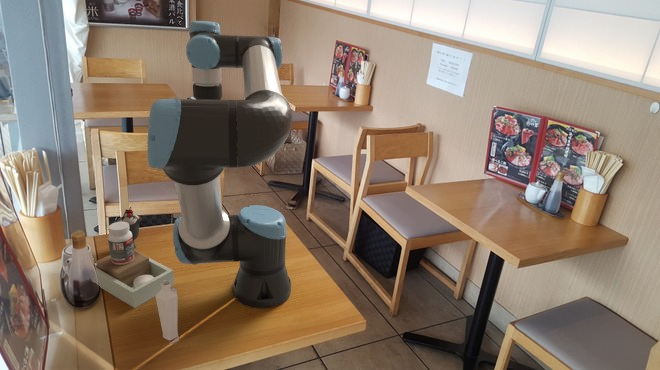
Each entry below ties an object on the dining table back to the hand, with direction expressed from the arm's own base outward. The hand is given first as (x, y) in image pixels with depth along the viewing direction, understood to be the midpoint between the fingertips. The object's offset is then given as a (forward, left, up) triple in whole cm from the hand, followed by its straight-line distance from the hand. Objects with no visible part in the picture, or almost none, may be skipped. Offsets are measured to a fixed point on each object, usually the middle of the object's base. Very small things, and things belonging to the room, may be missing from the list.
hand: (210, 158), depth 131 cm
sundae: (+17, +16, -29) cm, 37 cm away
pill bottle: (+5, +27, -22) cm, 35 cm away
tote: (+2, +27, -29) cm, 39 cm away
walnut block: (+5, +27, -28) cm, 39 cm away
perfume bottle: (-21, +34, -29) cm, 49 cm away
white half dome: (-3, +27, -28) cm, 39 cm away
